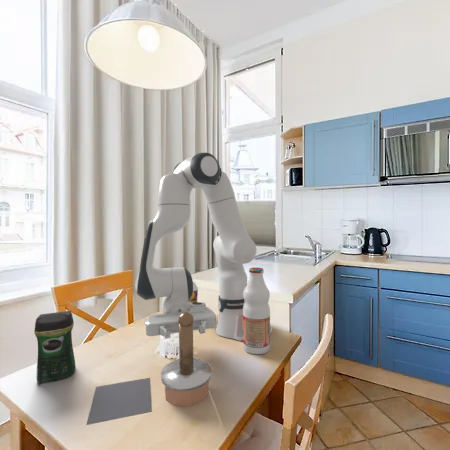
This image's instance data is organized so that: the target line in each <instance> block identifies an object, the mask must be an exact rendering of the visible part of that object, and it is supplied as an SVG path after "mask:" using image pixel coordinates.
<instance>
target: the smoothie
mask: <svg viewBox="0 0 450 450" xmlns="http://www.w3.org/2000/svg"><path fill="white" fill-rule="evenodd" d="M198 292H199V287H198V286H197V284H196V283H195V281H193V294H192V296H191V298H190V299H189V300H188V301H190V302H198V295H199V294H198Z"/></svg>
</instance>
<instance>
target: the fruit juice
mask: <svg viewBox="0 0 450 450" xmlns="http://www.w3.org/2000/svg"><path fill="white" fill-rule="evenodd" d="M248 272H249V278H248V280H247V286H246V287H245V289H244V291H243V297H244V301H245V303H244V305H243V341H242V348H243V350H244V351H245V352H246V353H248V354H252V355H264V354H266V353H268V352H269V351H270V348H271V333H270V326H271V308H270V304H269V301H270V290H269V289H268V287H267V285H266V281H265V279H264V276H263V275H264V268H263V267H250V268H248Z"/></svg>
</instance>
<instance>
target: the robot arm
mask: <svg viewBox="0 0 450 450" xmlns="http://www.w3.org/2000/svg"><path fill="white" fill-rule="evenodd" d="M197 188H200V189H202V191H203V192H204V196H205V199H206V203H207V207H208V211H209V216H210V218H211V223H212V226H213V227H214V228H215V230H216V231H217V234H218V235H217V236H215V238H214V240H213V243H212V246H213V250H214V254H215V259H216V263H217V264H216V265H217V271H218V279H219V295H218V300H217V308H218V317H217V315H216V313H215V312H214V311H213V310H212V309H211V308H210V307H208V306H207V304H206V302H198V301H197V302H190V301H188V300H189V299H190V298H191V296H192V294H193V282H194V281H193V277H192V274H191V272H190V271H189V270H188V269H187V268H186V267H185V266H179V267H178V266H175V267H173V266H172V267H163V268H162V267H161V268H160V267H159V268H156V267H155V268H154V267H153V263H154V259H155V251H156V248H157V247H156V246H157V244H158V242H159V241H160V240H161V239H163V238H165V237H166V236H168V235H172V234H174V233H176V232H178V231H181V230H182V229H184V228H185V227H186V226H187V225H188V223H189V222H190V220H191V219H190V218H191V193H192V190H193V189H197ZM157 195H158V196H157V211H156V215H155V217H154V218H153V219H151V220H150V221H149V222H148V224H147V228H146V231H145V232H146V233H145V236H144V240H143V245H142V246H143V247H142V252H141V257H140V266H139V269H138V273H137V276H136V279H135V283H134V284H135V285H134V286H135V291H136V294H137V296H139V297H140V298H142V299H143V300H145V301H147V300H148V301H149V300H154V299H157V298H162V302H161V310H162V313H157V314H152V315H149V316H148V317H147V318H145V319H144V325H145V333H146V336H148V337H154V336H155V337H156V336H161V337H164V339H165V340H166V339H171V335H172V334H177V333H178V334H179V323H178V318H179V316H180V315H181V314H182V313H184V312H189V313H191V314H192V316H193V318H194V322H193V332H194V331H198V332H199V334H201V335H202V334H206V330H208V329H215V332H216V334H217V335H219V336H220V337H223V338H225V339H227V338H228V339H233V340H235V341H239V342H241V341H242V342H243V305H244V303H245V301H244V297H243V291H244V289H245V287H246V286H247V284H248V276H247V273H246V270H245V267H244V264H249V263H251V262H252V261H253V260H254V259H255V258H256V255H257V245H256V243H255V241H254V240H253V239H252V238H251V236H250V235H249V233H248V230H247V229H246V226H245V224H244V222H243V219H242V218H241V214H240V211H239V207H238V203H237V199H236V196H235V192H234V189H233V186H232V183H231V181H230V179H229V176H228V174H227V173H226V172H224V171H222V168H221V165H220V163H219V161H218V159H217V158H216V157H215V155H213V154H212V153H210V152H199V153H196V154H194V155H192V156H188V157H187V158H185V159H184V160H183V161H181V162H179V163H177V164H176V166H174V168H173V169H172V172H170V173H167V174H165V175H164V176H162V177H161V179H160V182H159V186H158V193H157ZM217 319H218V320H217ZM215 327H216V328H215ZM272 333H273V328H272V326H271V325H270V334H272Z"/></svg>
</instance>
